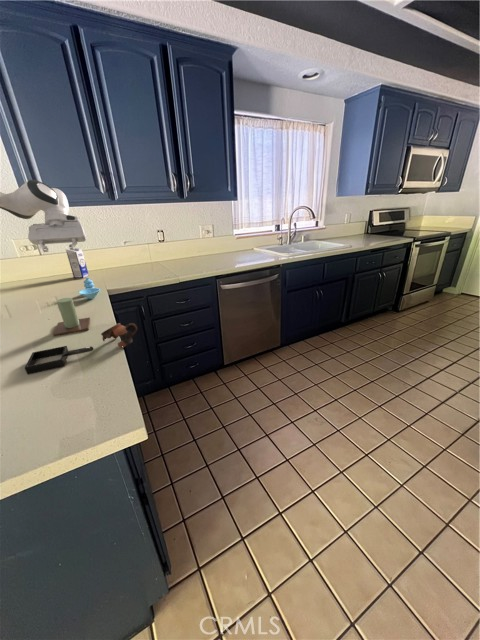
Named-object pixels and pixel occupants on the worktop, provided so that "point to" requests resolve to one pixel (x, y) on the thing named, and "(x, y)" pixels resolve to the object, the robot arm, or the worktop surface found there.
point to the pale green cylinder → (68, 312)
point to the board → (81, 327)
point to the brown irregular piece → (121, 333)
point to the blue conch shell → (89, 289)
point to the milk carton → (77, 263)
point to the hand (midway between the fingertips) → (58, 250)
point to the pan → (50, 365)
